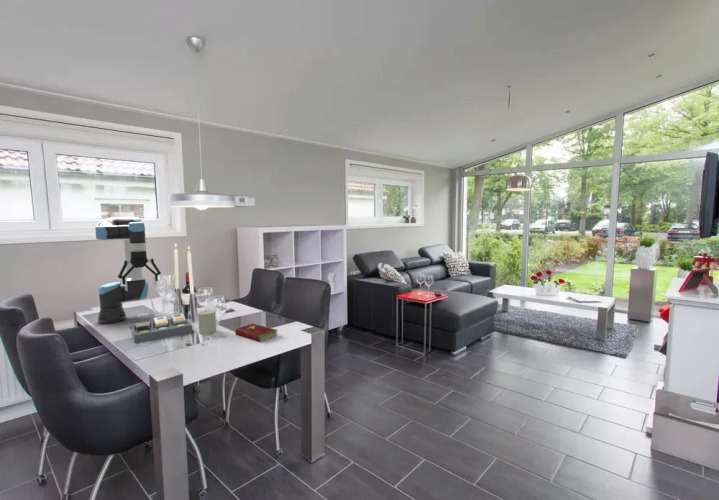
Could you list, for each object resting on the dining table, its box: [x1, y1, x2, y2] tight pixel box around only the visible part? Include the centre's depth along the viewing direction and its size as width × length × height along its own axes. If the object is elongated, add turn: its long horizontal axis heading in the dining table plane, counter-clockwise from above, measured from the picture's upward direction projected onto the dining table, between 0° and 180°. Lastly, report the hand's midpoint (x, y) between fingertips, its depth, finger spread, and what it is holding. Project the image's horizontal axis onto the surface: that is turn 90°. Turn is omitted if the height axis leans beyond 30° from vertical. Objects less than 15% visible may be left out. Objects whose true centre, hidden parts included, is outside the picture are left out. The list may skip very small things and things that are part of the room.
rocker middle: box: [153, 316, 168, 327], centre depth 209 cm, size 8×6×2 cm
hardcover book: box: [234, 322, 278, 343], centre depth 202 cm, size 12×21×4 cm, turn 54°
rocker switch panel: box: [130, 315, 193, 344], centre depth 207 cm, size 16×28×7 cm, turn 126°
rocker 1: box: [135, 321, 151, 327], centre depth 203 cm, size 8×6×2 cm
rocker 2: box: [170, 313, 187, 324], centre depth 214 cm, size 8×6×2 cm
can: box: [197, 309, 217, 336], centre depth 209 cm, size 9×9×12 cm
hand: (140, 288), depth 205 cm, fingers open, 13 cm apart
